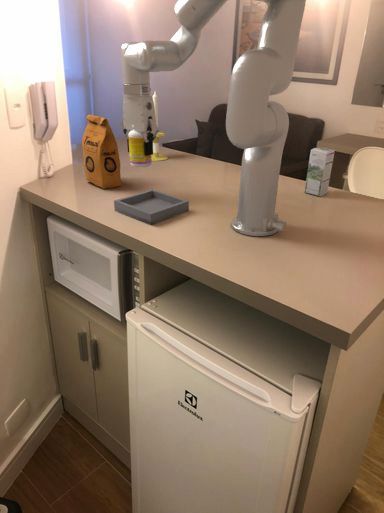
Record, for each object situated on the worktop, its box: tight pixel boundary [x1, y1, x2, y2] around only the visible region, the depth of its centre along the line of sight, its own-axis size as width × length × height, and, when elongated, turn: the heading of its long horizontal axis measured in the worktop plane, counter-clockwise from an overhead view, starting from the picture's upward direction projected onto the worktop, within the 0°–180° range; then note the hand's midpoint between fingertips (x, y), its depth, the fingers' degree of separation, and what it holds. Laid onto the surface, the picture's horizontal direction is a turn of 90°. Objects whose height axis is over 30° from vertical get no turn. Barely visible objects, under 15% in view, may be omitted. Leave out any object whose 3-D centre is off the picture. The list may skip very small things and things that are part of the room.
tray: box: [113, 189, 190, 226], centre depth 119 cm, size 15×15×3 cm
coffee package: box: [81, 114, 122, 190], centre depth 136 cm, size 10×12×22 cm
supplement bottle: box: [128, 125, 153, 168], centre depth 126 cm, size 7×7×13 cm
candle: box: [151, 90, 169, 162], centre depth 169 cm, size 10×10×27 cm
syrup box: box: [304, 146, 335, 197], centre depth 135 cm, size 6×6×14 cm
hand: (140, 152), depth 127 cm, fingers closed on supplement bottle, 6 cm apart
